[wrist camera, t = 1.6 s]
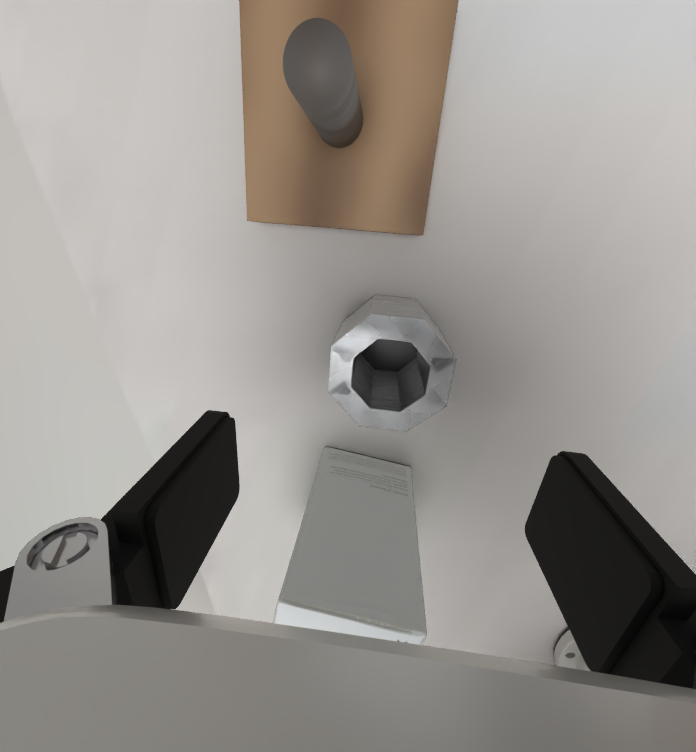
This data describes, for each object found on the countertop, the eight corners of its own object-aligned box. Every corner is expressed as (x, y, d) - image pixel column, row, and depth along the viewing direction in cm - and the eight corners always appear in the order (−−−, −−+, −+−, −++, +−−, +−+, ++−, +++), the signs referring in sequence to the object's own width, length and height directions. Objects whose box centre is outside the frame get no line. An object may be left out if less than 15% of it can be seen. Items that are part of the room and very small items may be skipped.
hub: (444, 301, 22) (464, 323, 16) (428, 390, 24) (440, 436, 19) (346, 291, 22) (333, 310, 17) (339, 381, 25) (326, 422, 19)
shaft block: (451, 15, 17) (503, -160, 9) (419, 235, 21) (438, 234, 13) (254, 8, 17) (156, -161, 10) (259, 221, 21) (191, 214, 14)
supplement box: (323, 443, 27) (275, 598, 15) (413, 465, 27) (434, 639, 15) (307, 511, 30) (258, 685, 18) (389, 531, 30) (390, 719, 18)
